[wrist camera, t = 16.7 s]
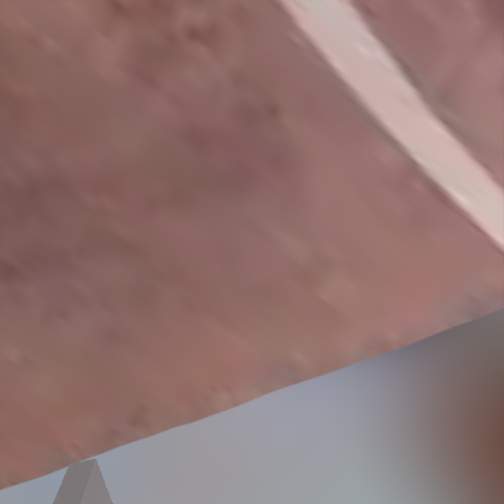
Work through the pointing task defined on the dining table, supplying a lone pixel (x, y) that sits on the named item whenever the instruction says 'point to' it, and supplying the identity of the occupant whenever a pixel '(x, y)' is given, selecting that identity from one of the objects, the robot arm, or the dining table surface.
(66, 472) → the robot arm
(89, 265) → the dining table surface
